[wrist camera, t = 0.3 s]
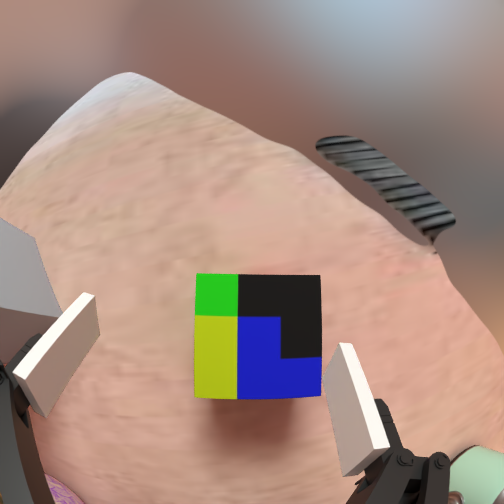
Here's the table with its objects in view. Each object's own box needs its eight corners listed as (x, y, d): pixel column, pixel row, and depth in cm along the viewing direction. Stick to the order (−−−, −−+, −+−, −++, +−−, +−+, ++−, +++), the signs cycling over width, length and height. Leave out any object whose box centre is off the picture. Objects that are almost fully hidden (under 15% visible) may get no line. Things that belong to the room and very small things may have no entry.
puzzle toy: (296, 376, 29) (320, 395, 19) (208, 376, 29) (194, 397, 19) (296, 291, 32) (320, 275, 22) (209, 290, 31) (196, 273, 22)
